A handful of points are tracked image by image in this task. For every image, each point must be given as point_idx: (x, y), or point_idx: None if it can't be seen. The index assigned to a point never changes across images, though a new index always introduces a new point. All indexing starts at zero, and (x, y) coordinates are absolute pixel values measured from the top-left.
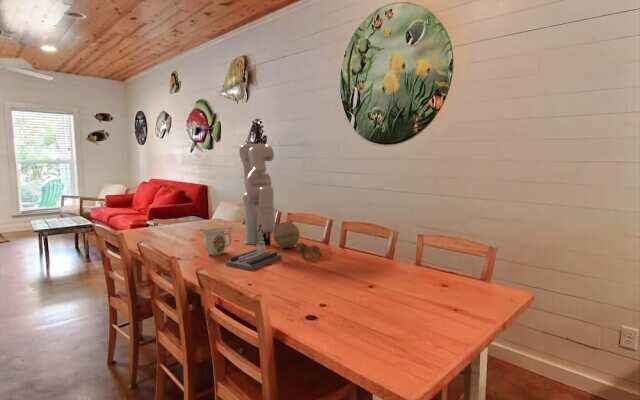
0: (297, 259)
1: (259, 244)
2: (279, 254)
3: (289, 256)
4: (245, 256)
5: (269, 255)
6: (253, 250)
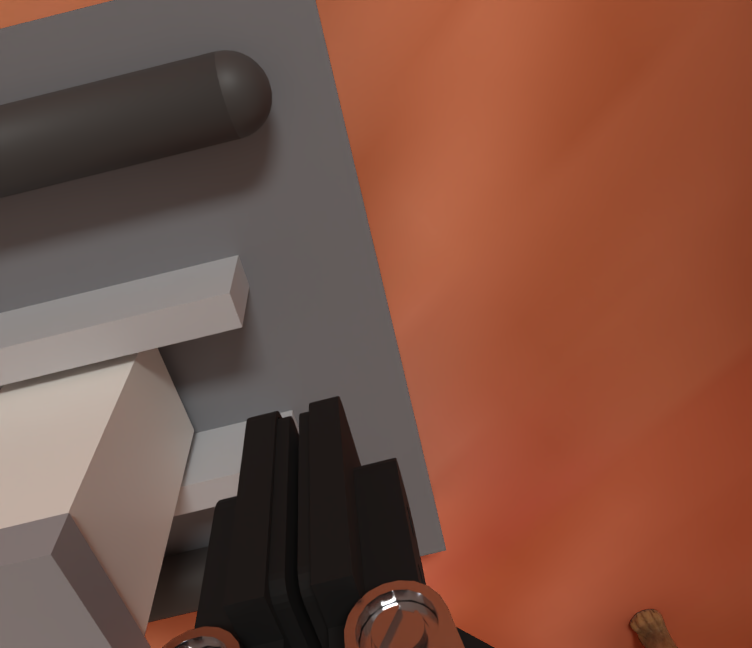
0: (539, 640)
1: None
2: (430, 527)
3: (594, 495)
4: None
5: (154, 620)
6: (31, 137)
